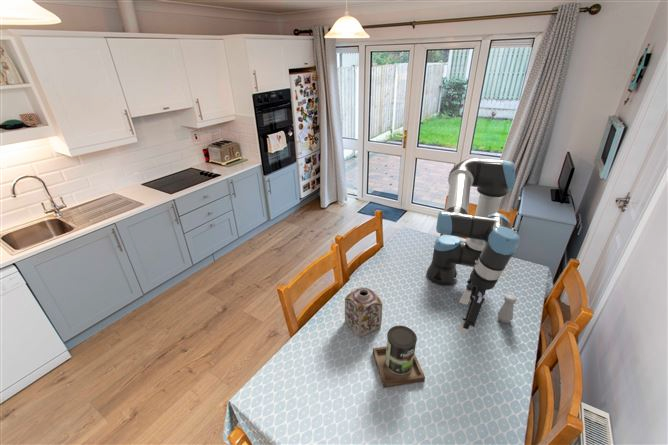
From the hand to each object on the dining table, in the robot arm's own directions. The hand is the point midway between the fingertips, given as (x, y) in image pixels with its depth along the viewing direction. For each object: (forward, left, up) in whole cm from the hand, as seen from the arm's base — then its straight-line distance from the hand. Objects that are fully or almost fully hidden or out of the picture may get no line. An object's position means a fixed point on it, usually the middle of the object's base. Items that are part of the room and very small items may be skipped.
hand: (462, 316), depth 108 cm
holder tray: (0, -22, -22) cm, 31 cm away
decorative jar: (-23, -30, -22) cm, 44 cm away
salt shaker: (-15, +31, -22) cm, 41 cm away
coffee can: (-1, -21, -21) cm, 30 cm away
